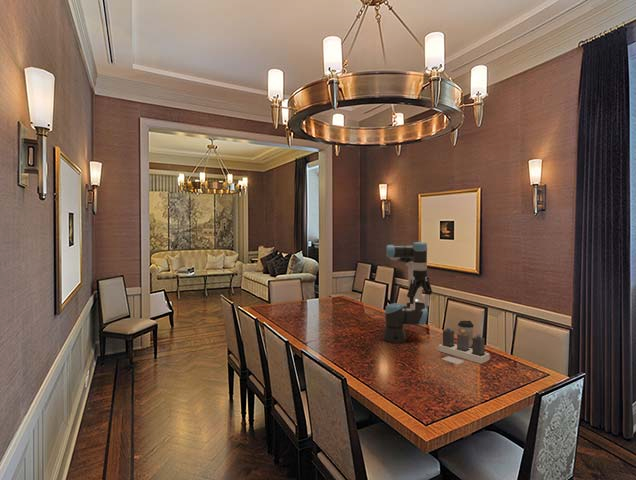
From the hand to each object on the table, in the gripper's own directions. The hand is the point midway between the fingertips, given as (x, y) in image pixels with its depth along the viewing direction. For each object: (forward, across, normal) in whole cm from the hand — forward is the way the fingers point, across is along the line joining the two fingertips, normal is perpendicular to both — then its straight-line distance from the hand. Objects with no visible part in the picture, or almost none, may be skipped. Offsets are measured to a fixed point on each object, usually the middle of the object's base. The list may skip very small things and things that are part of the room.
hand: (419, 307), depth 196 cm
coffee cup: (+29, +39, -6) cm, 49 cm away
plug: (+28, +21, -14) cm, 38 cm away
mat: (+29, +10, -14) cm, 34 cm away
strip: (+29, +21, -14) cm, 38 cm away
